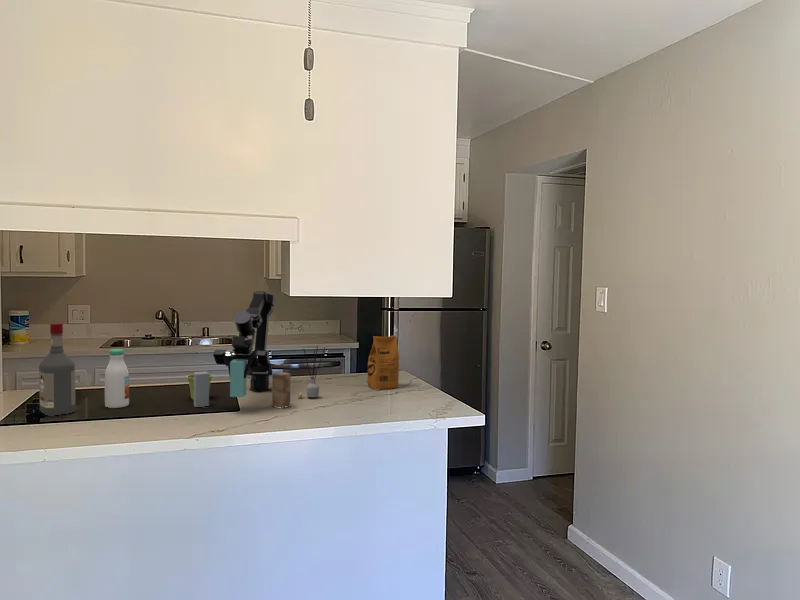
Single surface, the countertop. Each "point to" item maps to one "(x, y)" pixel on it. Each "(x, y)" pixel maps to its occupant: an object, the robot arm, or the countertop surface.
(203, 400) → the slate block
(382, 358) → the coffee package
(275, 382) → the walnut block
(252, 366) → the robot arm
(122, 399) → the milk bottle
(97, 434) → the countertop surface
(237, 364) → the teal block
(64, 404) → the liquor
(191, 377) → the plant pot
